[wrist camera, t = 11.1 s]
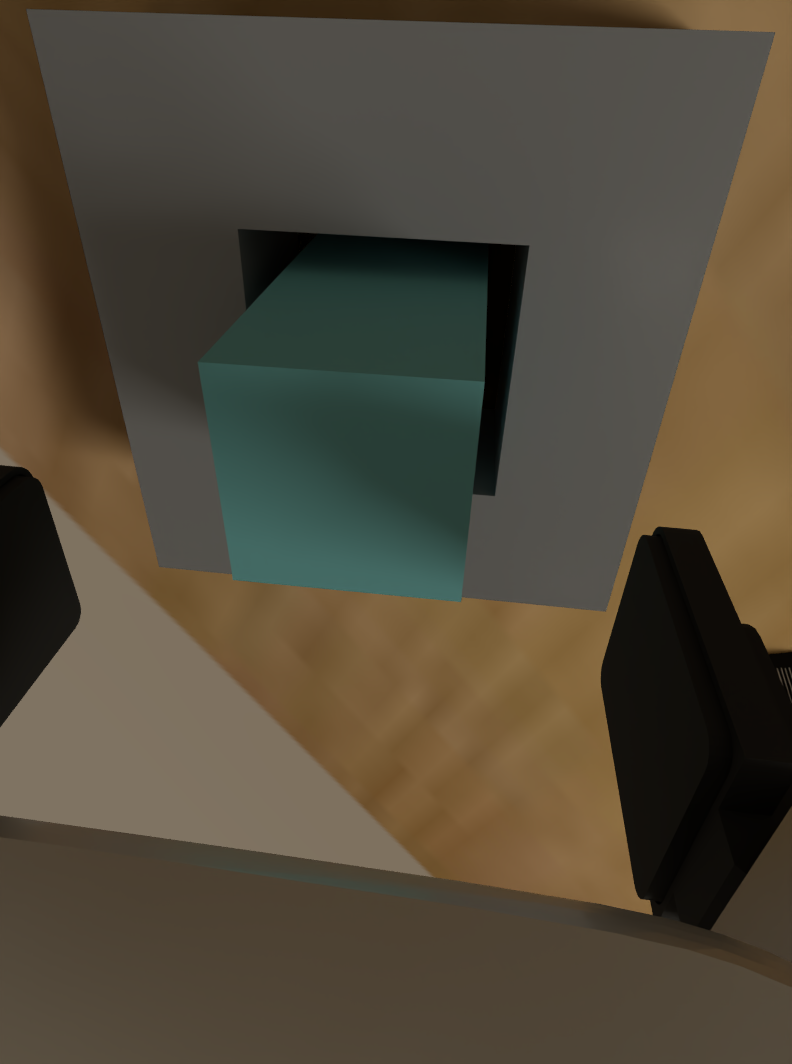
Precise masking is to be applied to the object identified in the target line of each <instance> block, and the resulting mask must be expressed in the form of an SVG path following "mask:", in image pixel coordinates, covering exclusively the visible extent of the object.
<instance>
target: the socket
mask: <svg viewBox="0 0 792 1064" xmlns="http://www.w3.org/2000/svg"><path fill="white" fill-rule="evenodd" d="M26 11H27V15H28V19H29V23H30V28H31V32H32V36H33V40H34V44H35V49H36V53H37V57H38V61H39V65H40V69H41V74H42V78H43V82H44V86H45V90H46V95H47V99H48V103H49V107H50V111H51V116H52V120H53V124H54V128H55V132H56V136H57V141H58V145H59V149H60V153H61V157H62V162H63V166H64V170H65V174H66V178H67V183H68V187H69V191H70V195H71V199H72V203H73V208H74V212H75V216H76V220H77V224H78V229H79V233H80V237H81V241H82V245H83V250H84V254H85V258H86V262H87V266H88V271H89V275H90V279H91V283H92V287H93V291H94V296H95V300H96V304H97V308H98V312H99V317H100V321H101V325H102V329H103V333H104V338H105V342H106V346H107V350H108V354H109V358H110V363H111V367H112V371H113V375H114V379H115V384H116V388H117V392H118V396H119V400H120V405H121V409H122V413H123V417H124V421H125V425H126V430H127V434H128V438H129V442H130V446H131V451H132V455H133V459H134V463H135V467H136V472H137V476H138V480H139V484H140V488H141V493H142V497H143V501H144V505H145V509H146V513H147V518H148V522H149V526H150V530H151V534H152V539H153V543H154V547H155V551H156V555H157V560H158V564H159V567H166V568H176V569H186V570H196V571H206V572H216V573H226V574H232V570H231V564H230V558H229V552H228V545H227V539H226V533H225V527H224V521H223V515H222V508H221V502H220V496H219V490H218V484H217V478H216V471H215V465H214V459H213V453H212V447H211V441H210V434H209V428H208V422H207V416H206V410H205V404H204V397H203V391H202V385H201V379H200V373H199V366H198V361H199V360H200V359H201V358H202V357H203V356H204V355H205V354H206V353H207V352H208V351H209V350H210V348H211V347H212V346H213V345H214V344H215V343H216V342H217V341H218V340H219V339H220V338H221V337H222V336H223V335H224V333H225V332H226V331H227V330H228V329H229V328H230V327H231V326H232V325H233V324H234V323H235V322H236V321H237V320H238V318H239V317H240V316H241V315H242V314H243V313H244V312H245V311H246V310H247V309H248V308H249V307H250V306H251V305H252V304H253V302H254V301H255V300H256V299H257V298H258V297H259V296H260V295H261V294H262V293H263V292H264V291H265V290H266V289H267V287H268V286H269V285H270V284H271V283H272V282H273V281H274V280H275V279H276V278H277V277H278V276H279V275H280V274H281V272H282V271H283V270H284V269H285V268H286V267H287V266H288V265H289V264H290V263H291V262H292V261H293V260H294V259H295V257H296V256H297V255H298V254H299V242H298V232H303V233H320V234H338V235H355V236H373V237H390V238H408V239H425V240H442V241H460V242H477V243H495V244H512V245H516V247H515V255H514V262H513V270H512V278H511V286H510V294H509V302H508V310H507V318H506V326H505V334H504V342H503V350H502V357H501V365H500V373H499V381H498V389H497V397H496V405H495V409H482V412H481V421H480V430H479V439H478V449H477V458H476V467H475V477H474V486H473V495H472V504H471V514H470V523H469V532H468V542H467V551H466V560H465V569H464V579H463V588H462V597H466V598H476V599H486V600H496V601H506V602H516V603H526V604H536V605H546V606H556V607H566V608H576V609H586V610H596V611H606V609H607V606H608V602H609V599H610V596H611V592H612V589H613V585H614V582H615V578H616V575H617V572H618V568H619V565H620V561H621V558H622V555H623V551H624V548H625V544H626V541H627V537H628V534H629V531H630V527H631V524H632V520H633V517H634V513H635V510H636V507H637V503H638V500H639V496H640V493H641V490H642V486H643V483H644V479H645V476H646V472H647V469H648V466H649V462H650V459H651V455H652V452H653V449H654V445H655V442H656V438H657V435H658V431H659V428H660V425H661V421H662V418H663V414H664V411H665V408H666V404H667V401H668V397H669V394H670V390H671V387H672V384H673V380H674V377H675V373H676V370H677V367H678V363H679V360H680V356H681V353H682V349H683V346H684V343H685V339H686V336H687V332H688V329H689V325H690V322H691V319H692V315H693V312H694V308H695V305H696V302H697V298H698V295H699V291H700V288H701V284H702V281H703V278H704V274H705V271H706V267H707V264H708V261H709V257H710V254H711V250H712V247H713V243H714V240H715V237H716V233H717V230H718V226H719V223H720V220H721V216H722V213H723V209H724V206H725V202H726V199H727V196H728V192H729V189H730V185H731V182H732V179H733V175H734V172H735V168H736V165H737V161H738V158H739V155H740V151H741V148H742V144H743V141H744V137H745V134H746V131H747V127H748V124H749V120H750V117H751V114H752V110H753V107H754V103H755V100H756V96H757V93H758V90H759V86H760V83H761V79H762V76H763V73H764V69H765V66H766V62H767V59H768V55H769V52H770V49H771V45H772V42H773V38H774V35H775V32H749V31H716V30H684V29H652V28H620V27H588V26H556V25H524V24H492V23H459V22H427V21H395V20H363V19H331V18H299V17H267V16H235V15H202V14H170V13H138V12H106V11H74V10H42V9H26Z"/></svg>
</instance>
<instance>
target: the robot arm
mask: <svg viewBox="0 0 792 1064" xmlns="http://www.w3.org/2000/svg"><path fill="white" fill-rule="evenodd" d="M80 614H81V607H80V603H79V599H78V596H77V593H76V590H75V587H74V584H73V580H72V578H71V574H70V571H69V568H68V565H67V562H66V559H65V556H64V552H63V549H62V546H61V543H60V540H59V537H58V534H57V530H56V527H55V524H54V521H53V518H52V515H51V512H50V508H49V506H48V502H47V499H46V496H45V493H44V490H43V487H42V485H41V482H40V481H39V480H38V479H36V478H34V477H33V476H32V474H31V473H30V472H29V471H28V470H27V469H25V468H23V467H13V466H2V465H0V727H1V726H2V724H3V723H4V722H5V720H6V719H7V718H8V716H9V715H10V713H11V712H12V710H14V708H15V707H16V706H17V704H18V703H19V702H20V700H21V699H22V698H23V696H24V695H25V694H26V693H27V691H28V690H29V689H30V687H31V686H32V685H33V683H34V682H35V681H36V679H37V678H38V677H39V675H40V674H41V673H42V671H43V670H44V668H45V667H46V666H47V665H48V663H49V662H50V661H51V659H52V658H53V657H54V656H55V654H56V653H57V652H58V650H59V649H60V648H61V646H62V645H63V644H64V642H65V641H66V640H67V638H68V637H69V636H70V634H71V633H72V632H73V630H74V629H75V628H76V626H77V624H78V622H79V619H80ZM601 688H602V694H603V700H604V706H605V712H606V718H607V724H608V730H609V736H610V742H611V748H612V754H613V760H614V766H615V771H616V777H617V783H618V789H619V795H620V801H621V807H622V813H623V819H624V825H625V831H626V837H627V843H628V849H629V855H630V861H631V867H632V873H633V879H634V884H635V889H636V892H637V895H638V897H639V898H640V899H645V900H650V902H651V907H652V912H653V915H649V914H644V913H640V912H635V911H630V910H625V909H620V908H616V907H611V906H606V905H601V904H596V903H590V902H584V901H578V900H572V899H566V898H560V897H553V896H547V895H541V894H535V893H529V892H523V891H517V890H511V889H504V888H498V887H492V886H486V885H480V884H474V883H468V882H462V881H455V880H448V879H441V878H434V877H427V876H420V875H413V874H407V873H400V872H393V871H386V870H379V869H372V868H365V867H359V866H351V865H345V864H338V863H331V862H324V861H318V860H311V859H304V858H297V857H290V856H283V855H276V854H269V853H263V852H256V851H249V850H242V849H234V848H228V847H221V846H213V845H207V844H199V843H192V842H185V841H178V840H171V839H163V838H156V837H150V836H143V835H136V834H129V833H121V832H114V831H106V830H100V829H93V828H85V827H78V826H71V825H64V824H56V823H50V822H43V821H35V820H28V819H21V818H13V817H6V816H0V1064H792V704H791V702H790V700H789V697H788V695H787V693H786V691H785V689H784V687H783V685H782V682H781V680H780V678H779V676H778V674H777V672H776V669H775V667H774V665H773V663H772V661H771V659H770V657H769V654H768V652H767V650H766V648H765V646H764V644H763V641H762V639H761V637H760V635H759V634H758V632H757V631H756V629H755V628H754V627H752V626H750V625H749V624H741V622H740V620H739V617H738V615H737V613H736V611H735V608H734V606H733V604H732V601H731V599H730V597H729V595H728V592H727V590H726V588H725V586H724V583H723V581H722V579H721V576H720V574H719V572H718V570H717V567H716V565H715V563H714V561H713V558H712V556H711V554H710V551H709V549H708V547H707V545H706V542H705V540H704V538H703V536H702V534H701V533H700V531H698V530H691V529H680V528H669V527H657V528H656V529H655V531H654V532H653V535H652V536H650V535H642V536H641V537H640V539H639V542H638V544H637V548H636V551H635V555H634V558H633V561H632V565H631V568H630V572H629V575H628V578H627V582H626V585H625V588H624V592H623V595H622V599H621V602H620V605H619V609H618V612H617V616H616V619H615V622H614V626H613V629H612V633H611V636H610V639H609V643H608V646H607V650H606V653H605V656H604V660H603V664H602V669H601Z"/></svg>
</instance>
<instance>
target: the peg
mask: <svg viewBox="0 0 792 1064" xmlns="http://www.w3.org/2000/svg"><path fill="white" fill-rule="evenodd" d="M488 251H489V243H477V242H460V241H442V240H425V239H408V238H390V237H373V236H355V235H338V234H320V233H318V234H317V235H316V236H315V237H314V238H313V239H312V240H311V241H310V242H309V244H308V245H307V246H306V247H305V248H304V249H303V250H302V251H301V252H300V253H299V254H298V255H297V256H296V257H295V259H294V260H293V261H292V262H291V263H290V264H289V265H288V266H287V267H286V268H285V269H284V270H283V271H282V272H281V274H280V275H279V276H278V277H277V278H276V279H275V280H274V281H273V282H272V283H271V284H270V285H269V286H268V287H267V289H266V290H265V291H264V292H263V293H262V294H261V295H260V296H259V297H258V298H257V299H256V300H255V301H254V302H253V304H252V305H251V306H250V307H249V308H248V309H247V310H246V311H245V312H244V313H243V314H242V315H241V316H240V317H239V318H238V320H237V321H236V322H235V323H234V324H233V325H232V326H231V327H230V328H229V329H228V330H227V331H226V332H225V333H224V335H223V336H222V337H221V338H220V339H219V340H218V341H217V342H216V343H215V344H214V345H213V346H212V347H211V348H210V350H209V351H208V352H207V353H206V354H205V355H204V356H203V357H202V358H201V359H200V360H199V361H198V366H199V373H200V379H201V385H202V391H203V397H204V404H205V410H206V416H207V422H208V428H209V434H210V441H211V447H212V453H213V459H214V465H215V471H216V478H217V484H218V490H219V496H220V502H221V508H222V515H223V521H224V527H225V533H226V539H227V545H228V552H229V558H230V564H231V570H232V576H233V580H239V581H250V582H260V583H271V584H281V585H291V586H302V587H312V588H322V589H333V590H343V591H353V592H364V593H374V594H385V595H395V596H405V597H416V598H426V599H436V600H447V601H457V602H461V597H462V588H463V579H464V569H465V560H466V551H467V542H468V532H469V523H470V514H471V504H472V495H473V486H474V477H475V467H476V458H477V449H478V439H479V430H480V421H481V412H482V402H483V393H484V384H485V354H486V320H487V285H488Z"/></svg>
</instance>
